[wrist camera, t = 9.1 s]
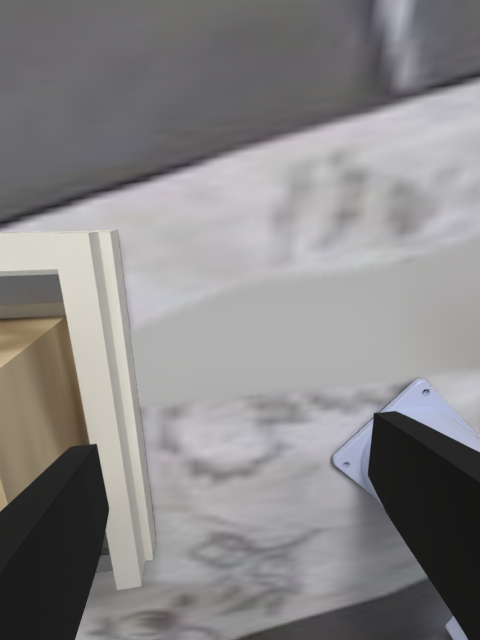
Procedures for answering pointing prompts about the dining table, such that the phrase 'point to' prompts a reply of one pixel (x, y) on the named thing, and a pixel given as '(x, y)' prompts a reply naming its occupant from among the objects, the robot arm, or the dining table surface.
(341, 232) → the dining table surface
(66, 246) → the cream rectangular frame
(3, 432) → the beige rectangular panel
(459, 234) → the dining table surface
